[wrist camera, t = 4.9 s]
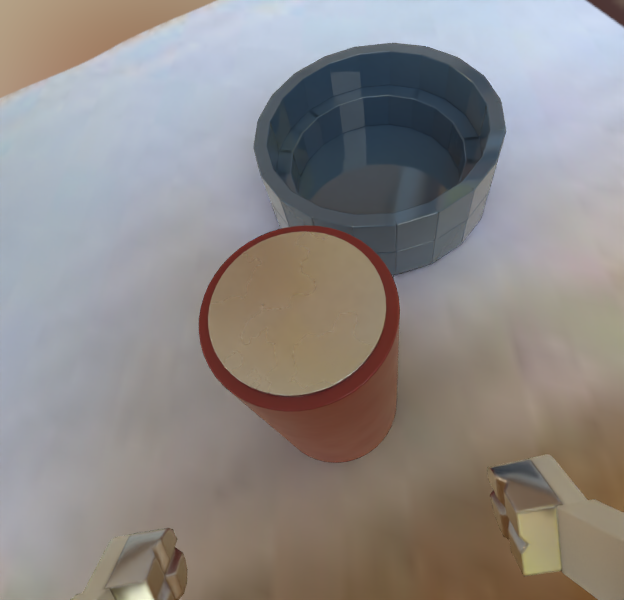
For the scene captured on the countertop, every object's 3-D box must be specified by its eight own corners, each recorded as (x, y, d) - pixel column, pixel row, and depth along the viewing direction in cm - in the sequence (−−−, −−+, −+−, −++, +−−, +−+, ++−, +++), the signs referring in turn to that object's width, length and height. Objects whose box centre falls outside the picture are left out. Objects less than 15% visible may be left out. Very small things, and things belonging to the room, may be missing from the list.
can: (317, 489, 23) (256, 456, 12) (256, 385, 26) (164, 288, 15) (422, 415, 23) (445, 326, 13) (350, 322, 26) (324, 190, 16)
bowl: (350, 322, 26) (341, 275, 21) (241, 179, 32) (214, 118, 28) (534, 200, 28) (564, 131, 23) (397, 87, 34) (398, 13, 29)
